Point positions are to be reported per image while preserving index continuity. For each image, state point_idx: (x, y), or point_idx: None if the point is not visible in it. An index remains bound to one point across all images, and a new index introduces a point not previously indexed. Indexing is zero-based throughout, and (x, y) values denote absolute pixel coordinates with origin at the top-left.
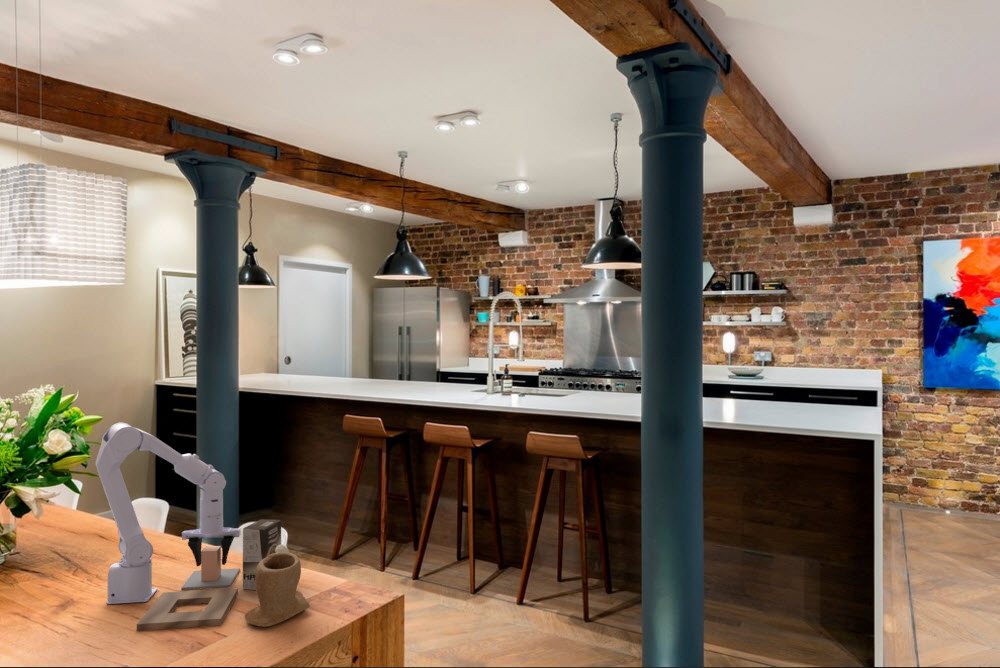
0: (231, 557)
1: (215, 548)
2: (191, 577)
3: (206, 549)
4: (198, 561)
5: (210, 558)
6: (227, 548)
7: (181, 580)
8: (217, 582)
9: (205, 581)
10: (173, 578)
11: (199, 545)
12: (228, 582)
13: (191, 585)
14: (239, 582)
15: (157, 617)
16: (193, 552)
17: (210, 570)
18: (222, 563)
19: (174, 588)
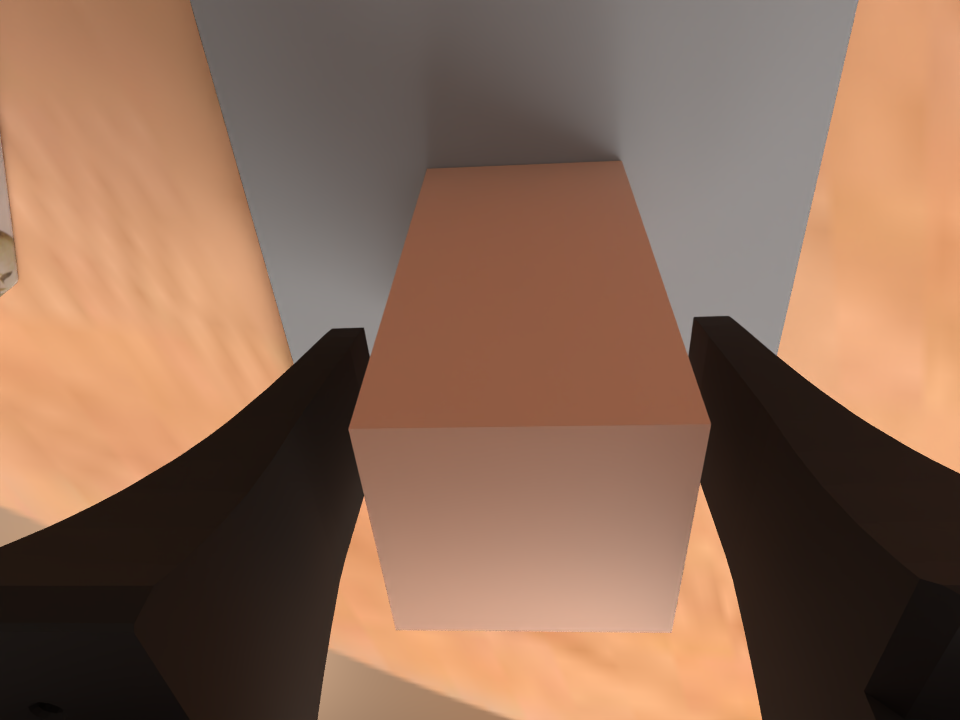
0: (505, 663)
1: (443, 542)
2: (762, 299)
3: (616, 517)
4: (723, 346)
5: (500, 326)
6: (138, 482)
7: (866, 281)
8: (399, 104)
9: (568, 159)
10: (954, 343)
11: (794, 625)
12: (251, 87)
13: (729, 23)
14: (166, 149)
15: None
16: (884, 440)
17: (504, 222)
18: (349, 333)
19: (953, 22)
